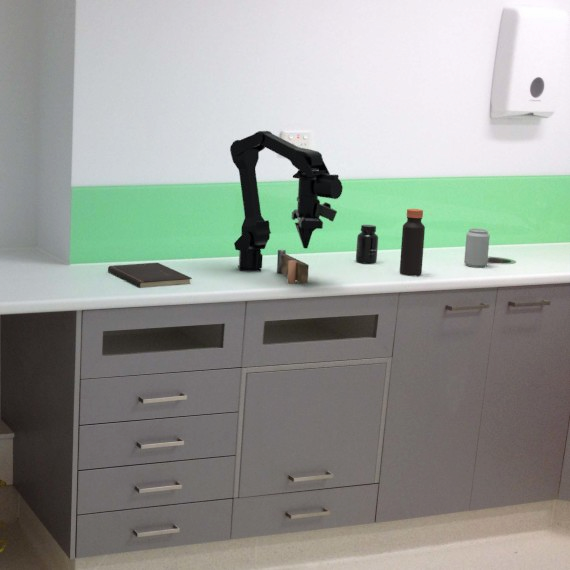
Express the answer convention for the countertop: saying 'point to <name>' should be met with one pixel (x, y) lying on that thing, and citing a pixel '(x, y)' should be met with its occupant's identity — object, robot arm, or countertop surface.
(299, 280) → the brown long plank slab
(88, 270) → the countertop surface
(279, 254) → the hinge post
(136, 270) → the hardcover book
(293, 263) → the catch post
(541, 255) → the countertop surface
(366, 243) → the supplement bottle
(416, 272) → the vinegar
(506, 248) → the countertop surface
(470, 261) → the can
